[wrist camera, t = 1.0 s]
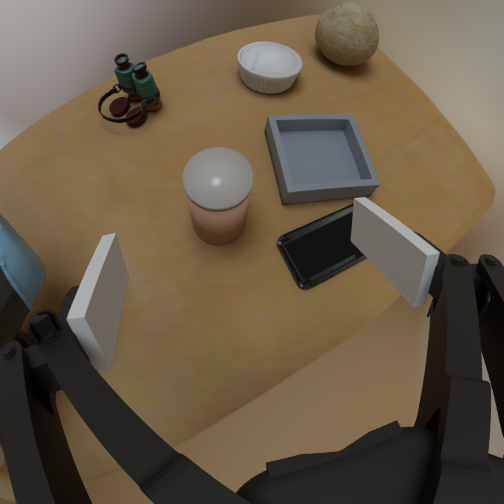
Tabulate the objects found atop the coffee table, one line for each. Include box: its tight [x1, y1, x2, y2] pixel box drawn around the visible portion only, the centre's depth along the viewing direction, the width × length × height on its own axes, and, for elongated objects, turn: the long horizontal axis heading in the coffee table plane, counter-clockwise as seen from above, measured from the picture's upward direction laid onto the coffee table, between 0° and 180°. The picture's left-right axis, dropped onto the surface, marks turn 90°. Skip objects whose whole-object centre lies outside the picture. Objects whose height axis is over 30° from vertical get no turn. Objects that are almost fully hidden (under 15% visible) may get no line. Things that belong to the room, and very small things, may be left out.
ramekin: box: [237, 42, 303, 94], centre depth 47 cm, size 11×11×5 cm
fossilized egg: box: [315, 3, 379, 66], centre depth 46 cm, size 13×13×15 cm
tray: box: [264, 114, 380, 205], centre depth 43 cm, size 14×13×4 cm
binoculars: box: [98, 53, 162, 127], centre depth 40 cm, size 9×11×10 cm
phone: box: [277, 204, 366, 289], centre depth 42 cm, size 8×1×15 cm
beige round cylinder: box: [183, 147, 253, 245], centre depth 35 cm, size 7×7×12 cm
